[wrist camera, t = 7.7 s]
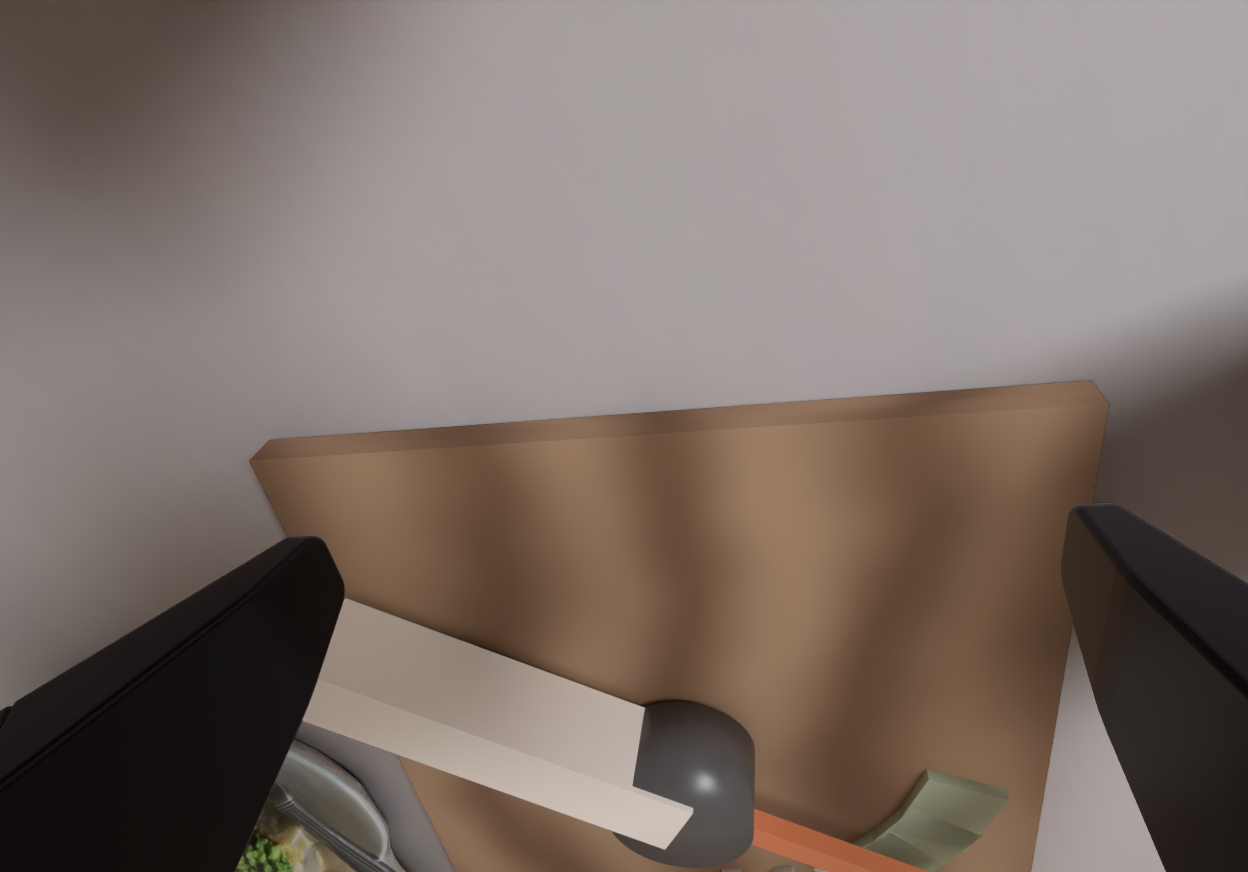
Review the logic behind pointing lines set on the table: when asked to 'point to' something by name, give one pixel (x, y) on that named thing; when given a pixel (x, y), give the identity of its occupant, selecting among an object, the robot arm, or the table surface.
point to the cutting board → (745, 598)
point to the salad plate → (318, 822)
